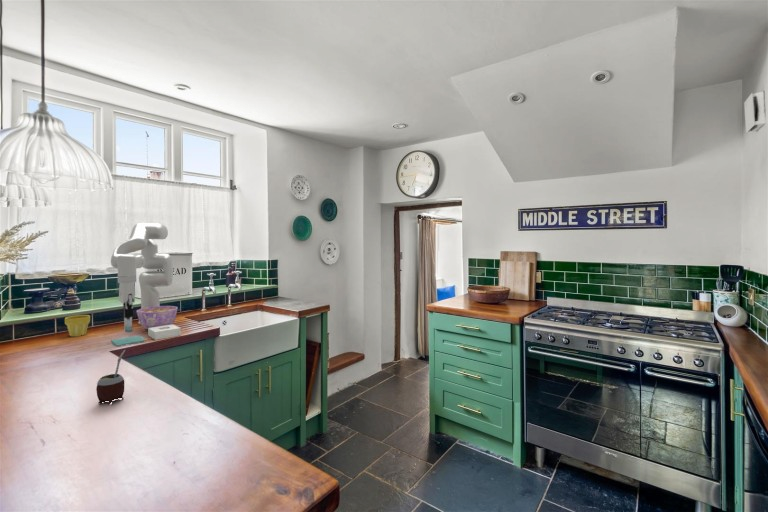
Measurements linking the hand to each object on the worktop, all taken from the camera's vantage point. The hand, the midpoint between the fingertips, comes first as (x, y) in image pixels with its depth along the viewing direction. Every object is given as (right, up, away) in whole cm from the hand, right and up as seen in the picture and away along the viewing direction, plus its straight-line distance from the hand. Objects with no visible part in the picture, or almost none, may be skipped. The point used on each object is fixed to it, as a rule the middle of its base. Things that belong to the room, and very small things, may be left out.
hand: (128, 315), depth 179 cm
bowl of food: (-1, -12, +26) cm, 29 cm away
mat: (0, -13, +1) cm, 13 cm away
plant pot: (-35, -12, +12) cm, 40 cm away
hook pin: (0, -8, 0) cm, 8 cm away
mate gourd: (+41, -16, -65) cm, 79 cm away
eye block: (+11, -13, +13) cm, 21 cm away
